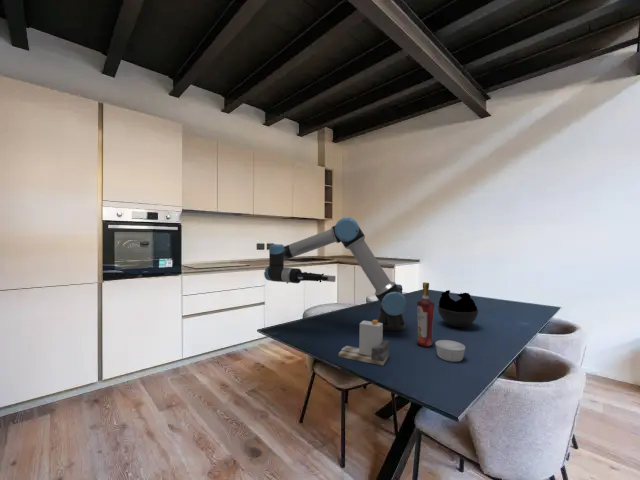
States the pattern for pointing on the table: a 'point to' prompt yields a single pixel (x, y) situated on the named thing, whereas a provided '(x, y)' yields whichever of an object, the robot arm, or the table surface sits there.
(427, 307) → the liquor
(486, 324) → the table surface
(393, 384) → the table surface
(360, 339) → the module
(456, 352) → the ramekin
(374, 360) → the rail board
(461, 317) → the coal bowl
